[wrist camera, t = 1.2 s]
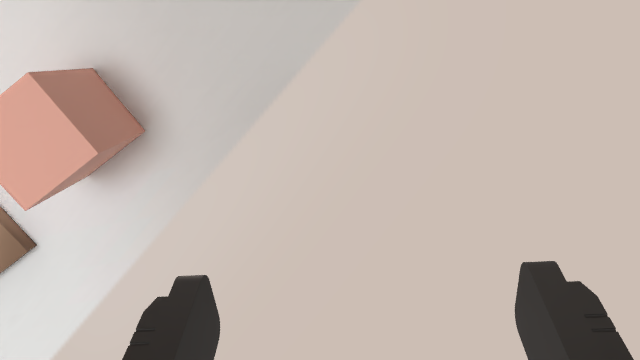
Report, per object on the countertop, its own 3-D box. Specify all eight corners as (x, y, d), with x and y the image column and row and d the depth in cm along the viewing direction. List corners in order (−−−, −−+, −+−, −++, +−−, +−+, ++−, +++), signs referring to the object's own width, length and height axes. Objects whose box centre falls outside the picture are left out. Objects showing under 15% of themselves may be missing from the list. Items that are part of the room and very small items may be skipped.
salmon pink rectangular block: (34, 115, 34) (-47, 133, 26) (92, 68, 33) (27, 72, 25) (87, 176, 35) (25, 211, 27) (145, 131, 34) (98, 153, 26)
